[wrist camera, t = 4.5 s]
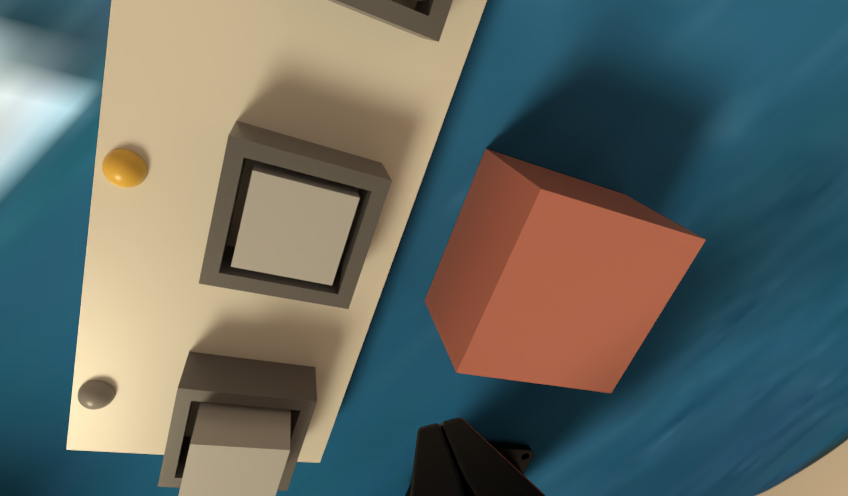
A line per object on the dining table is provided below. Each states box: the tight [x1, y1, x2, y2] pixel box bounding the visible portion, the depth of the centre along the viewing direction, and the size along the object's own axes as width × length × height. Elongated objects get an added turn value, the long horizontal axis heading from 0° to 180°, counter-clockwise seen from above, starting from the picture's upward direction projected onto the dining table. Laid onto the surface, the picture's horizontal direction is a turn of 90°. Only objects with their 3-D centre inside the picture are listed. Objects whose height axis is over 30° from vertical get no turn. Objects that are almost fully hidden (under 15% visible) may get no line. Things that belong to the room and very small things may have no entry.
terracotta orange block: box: [425, 149, 705, 393], centre depth 20 cm, size 7×7×5 cm
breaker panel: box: [66, 0, 487, 491], centre depth 16 cm, size 10×24×4 cm, turn 159°
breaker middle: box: [231, 161, 360, 285], centre depth 16 cm, size 3×3×2 cm
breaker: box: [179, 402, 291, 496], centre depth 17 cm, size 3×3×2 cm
